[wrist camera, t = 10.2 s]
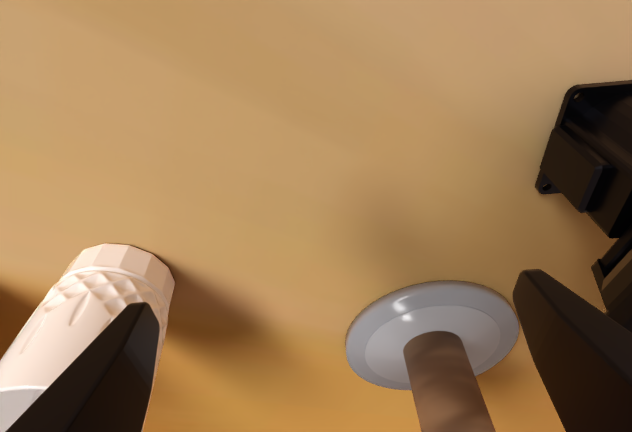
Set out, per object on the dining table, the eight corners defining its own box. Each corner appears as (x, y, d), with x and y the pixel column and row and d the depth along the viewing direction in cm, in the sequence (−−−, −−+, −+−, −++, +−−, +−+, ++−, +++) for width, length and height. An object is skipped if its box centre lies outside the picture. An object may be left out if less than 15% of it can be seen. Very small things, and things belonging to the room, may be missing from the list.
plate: (534, 273, 29) (541, 285, 28) (493, 373, 38) (498, 385, 37) (342, 288, 29) (344, 301, 28) (347, 385, 38) (348, 397, 37)
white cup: (143, 326, 31) (93, 470, 23) (41, 278, 27) (-60, 431, 19) (206, 276, 28) (173, 424, 20) (100, 214, 24) (8, 367, 16)
